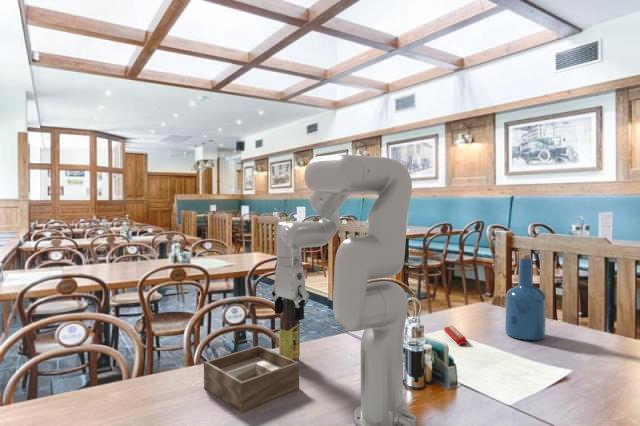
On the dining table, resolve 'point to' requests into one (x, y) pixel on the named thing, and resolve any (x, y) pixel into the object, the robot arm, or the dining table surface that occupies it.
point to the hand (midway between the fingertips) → (289, 316)
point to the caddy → (251, 377)
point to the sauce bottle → (289, 332)
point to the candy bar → (455, 335)
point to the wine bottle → (525, 306)
